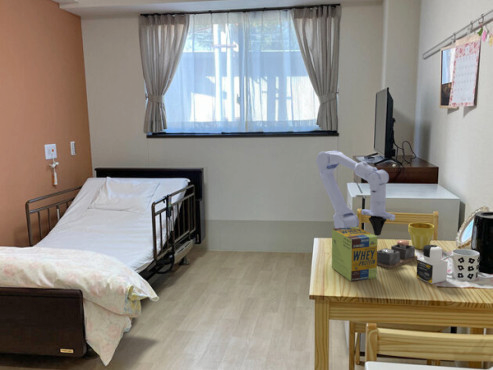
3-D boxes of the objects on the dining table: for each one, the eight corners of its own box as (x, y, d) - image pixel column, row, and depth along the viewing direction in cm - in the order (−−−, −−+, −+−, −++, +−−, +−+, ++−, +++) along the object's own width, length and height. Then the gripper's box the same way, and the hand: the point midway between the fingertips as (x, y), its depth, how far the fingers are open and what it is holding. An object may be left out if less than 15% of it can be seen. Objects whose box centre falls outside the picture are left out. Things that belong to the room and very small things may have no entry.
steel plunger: (388, 263, 164) (389, 253, 163) (379, 260, 167) (379, 250, 167) (395, 260, 166) (396, 250, 166) (386, 257, 170) (386, 248, 169)
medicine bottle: (415, 277, 153) (417, 245, 151) (431, 274, 156) (432, 242, 154) (431, 284, 146) (433, 250, 144) (447, 280, 149) (448, 247, 147)
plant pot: (423, 252, 179) (424, 229, 178) (402, 246, 188) (403, 224, 186) (438, 247, 185) (439, 225, 183) (417, 242, 193) (418, 221, 192)
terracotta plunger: (404, 253, 169) (404, 243, 169) (394, 250, 173) (395, 241, 172) (411, 251, 172) (411, 241, 171) (401, 248, 175) (401, 239, 175)
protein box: (351, 282, 151) (351, 239, 148) (331, 267, 165) (331, 228, 163) (377, 278, 153) (378, 236, 151) (355, 264, 168) (356, 225, 165)
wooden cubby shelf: (389, 269, 161) (390, 256, 161) (372, 263, 168) (372, 251, 167) (417, 258, 172) (417, 246, 171) (399, 253, 178) (400, 242, 177)
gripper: (356, 200, 171) (356, 233, 173) (387, 205, 160) (386, 240, 162) (367, 197, 176) (367, 230, 178) (398, 202, 164) (398, 237, 166)
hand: (377, 234), depth 170 cm, fingers closed
